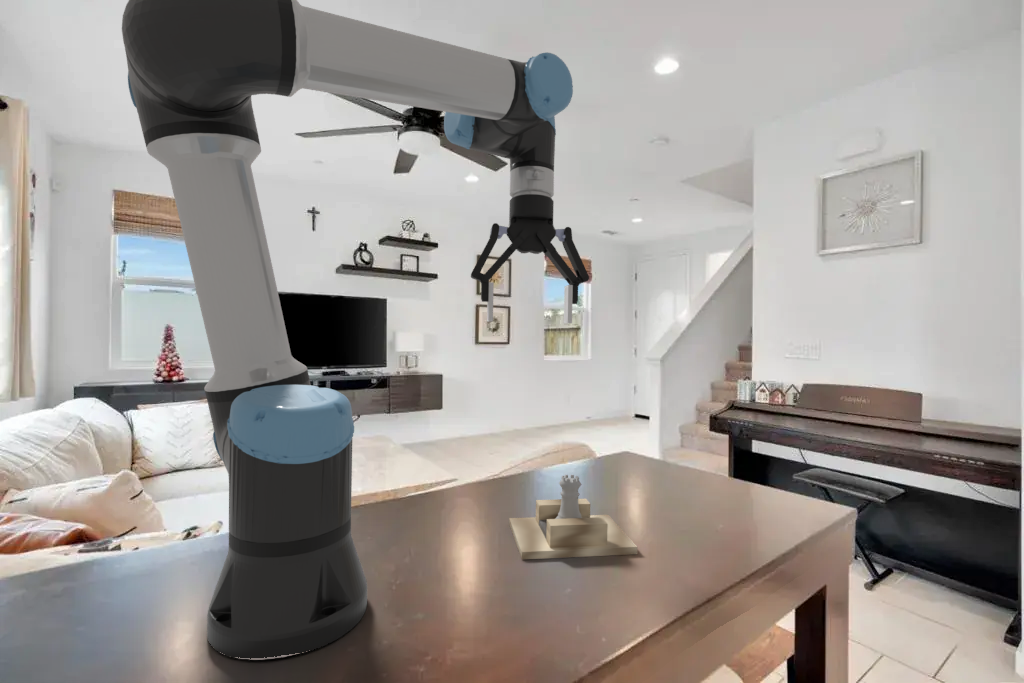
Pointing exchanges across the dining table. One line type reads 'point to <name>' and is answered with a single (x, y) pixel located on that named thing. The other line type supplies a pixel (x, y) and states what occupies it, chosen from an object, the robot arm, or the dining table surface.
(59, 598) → the dining table surface
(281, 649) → the robot arm
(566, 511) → the rook chess piece
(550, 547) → the birch mount
